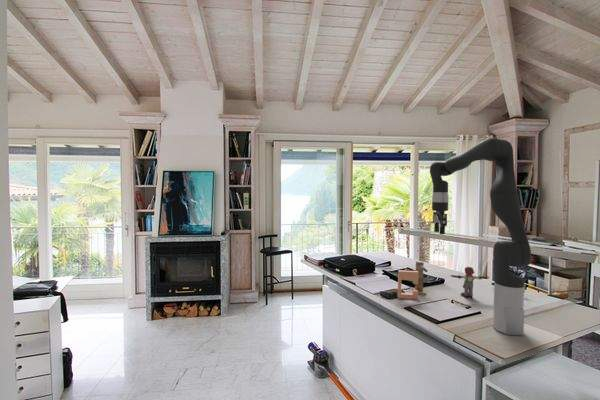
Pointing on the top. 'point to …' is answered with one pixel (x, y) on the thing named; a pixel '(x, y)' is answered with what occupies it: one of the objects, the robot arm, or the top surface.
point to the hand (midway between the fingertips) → (439, 233)
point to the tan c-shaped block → (407, 276)
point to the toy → (468, 281)
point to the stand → (420, 278)
